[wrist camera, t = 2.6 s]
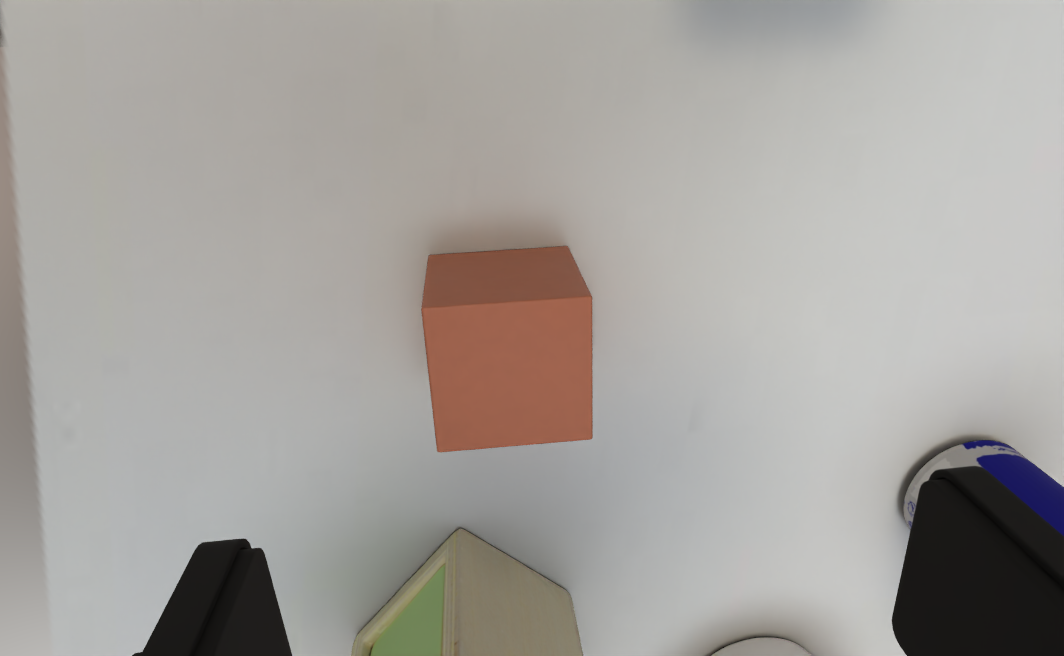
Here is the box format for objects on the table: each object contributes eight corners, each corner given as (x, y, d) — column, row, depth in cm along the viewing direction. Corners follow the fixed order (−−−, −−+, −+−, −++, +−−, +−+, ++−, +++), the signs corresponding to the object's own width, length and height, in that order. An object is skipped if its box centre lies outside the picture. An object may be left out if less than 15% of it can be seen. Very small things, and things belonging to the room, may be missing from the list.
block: (440, 379, 27) (437, 453, 22) (428, 254, 24) (420, 308, 20) (570, 368, 27) (593, 440, 22) (568, 245, 25) (592, 295, 20)
